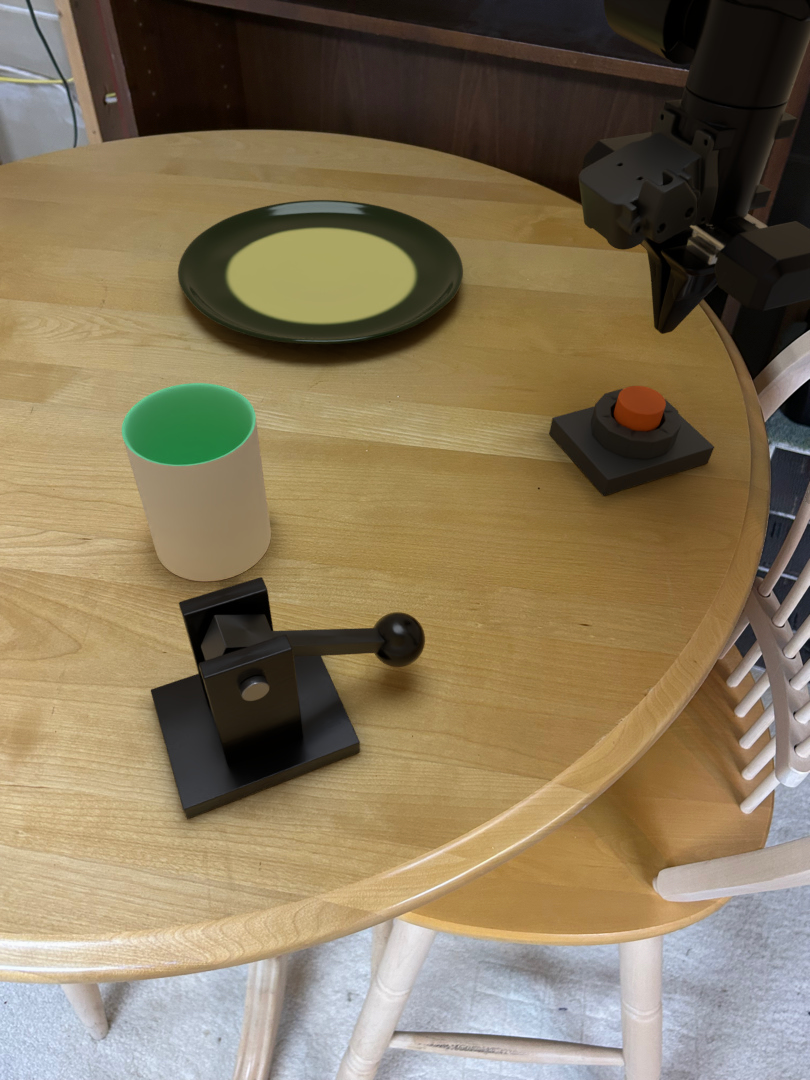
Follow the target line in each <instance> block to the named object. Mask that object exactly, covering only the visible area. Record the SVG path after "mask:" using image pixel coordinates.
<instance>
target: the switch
mask: <svg viewBox="0 0 810 1080" xmlns="http://www.w3.org/2000/svg"><path fill="white" fill-rule="evenodd" d="M178 606H179V610H180V613H181V616H182V620H183V624H184V628H185V631H186V636H187V638H188V642H189V645H190V648H191V653H192V657H193V659H194V660H193V661H194V663H195V666H196V670H197V673H196V674H193V675H190V676H187V677H184V678H181V679H178V680H175V681H172V682H169V683H166V684H163V685H160V686H158V687H157V686H156V687H155V688H151V689H150V694H151V697H152V700H153V701H152V702H153V705H154V708H155V712H156V716H157V718H158V719H157V720H158V723H159V727H160V731H161V734H162V738H163V741H164V746H165V748H166V752H167V756H168V760H169V763H170V767H171V771H172V774H173V778H174V782H175V786H176V789H177V793H178V797H179V800H180V804H181V808H182V811H183V813H184V815H185V818H186V820H189V819H191V818H194V817H197V816H199V815H202V814H204V813H207V812H209V811H212V810H214V809H218V808H220V807H222V806H225V805H228V804H230V803H232V802H235V801H237V800H240V799H242V798H245V797H248V796H250V795H254V794H256V793H259V792H261V791H263V790H267V789H269V788H271V787H274V786H276V785H279V784H281V783H284V782H287V781H289V780H292V779H293V778H297V777H299V776H303V775H304V774H307V773H310V772H312V771H315V770H318V769H320V768H322V767H325V766H328V765H331V764H333V763H336V762H338V761H341V760H344V759H347V758H348V757H351V756H354V755H356V754H359V753H361V742H360V739H359V737H358V735H357V733H356V730H355V728H354V725H353V723H352V720H351V719H350V717H349V714H348V713H347V712H348V711H346V707H345V706H344V704H343V701H342V699H341V697H340V695H339V692H338V691H337V688H336V686H335V683H334V681H333V680H332V677H331V675H330V672H329V670H328V668H327V666H326V663H325V662H324V660H323V656H307V657H294V656H293V648H292V646H291V644H290V641H289V639H288V636H287V635H286V634H285V635H282V636H279V637H276V638H273V639H270V640H267V641H264V642H261V643H258V644H255V645H252V646H249V647H246V648H243V649H240V650H236V651H233V652H230V653H227V654H224V655H221V656H218V657H215V658H212V659H209V660H205V657H204V654H203V651H202V648H201V645H202V642H203V640H204V638H205V635H206V633H207V631H208V628H209V626H210V624H211V621H212V619H213V617H214V615H241V614H264V615H265V617H266V619H267V621H268V624H269V626H270V629H271V631H275V630H274V624H273V618H272V612H271V604H270V597H269V591H268V588H267V586H266V583H265V580H264V577H262V576H260V577H257V578H253V579H250V580H247V581H243V582H240V583H236V584H233V585H230V586H227V587H224V588H220V589H217V590H214V591H210V592H208V593H204V594H201V595H197V596H194V597H190V598H188V599H185V600H181V601H179V602H178Z"/></svg>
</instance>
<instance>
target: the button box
mask: <svg viewBox="0 0 810 1080" xmlns="http://www.w3.org/2000/svg"><path fill="white" fill-rule="evenodd" d="M623 389H624V388H620V389H616V390H612V391H609V392H606V393H604V394H603V395H602V396H601V397H600V398H599V399H598V400H597V401H596V402H595V404H594V406H590V407H586V408H583V409H579V410H576V411H572V412H568V413H564V414H561V415H558V416H553V417H552V418H551V423H550V428H549V435H550V437H551V438H552V439H553V440H554V441H555V442H556V444H557V445H558V446H559V447H560V449H562V450H563V451H564V452H565V454H566V455H567V456H568V457H569V458H570V460H572V462H573V463H574V464H575V466H577V468H578V469H579V470H580V471H581V472H582V473H583V474H584V475H585V476H586V478H587V479H588V480H589V482H591V484H592V485H593V486H594V487H595V488H596V490H598V491H599V493H600V494H601V495H602V497H603V496H607V495H611V494H614V493H618V492H621V491H624V490H627V489H630V488H634V487H636V486H640V485H644V484H646V483H649V482H653V481H656V480H658V479H662V478H665V477H668V476H671V475H674V474H677V473H681V472H684V471H688V470H691V469H693V468H697V467H699V466H703V465H706V464H709V461H710V460H711V457H712V454H713V452H714V449H715V446H714V445H713V444H712V443H711V442H710V441H709V440H707V438H705V436H703V434H701V433H700V432H699V431H698V429H696V428H695V427H694V426H693V425H691V423H690V422H688V420H686V418H684V417H683V416H682V415H681V414H680V413H679V410H678V409H677V408H676V407H674V405H672V403H670V401H668V400H667V399H666V398H664V399H665V401H666V406H665V409H664V412H663V415H662V418H661V421H660V424H659V426H658V427H657V428H655V429H654V430H651V431H648V432H644V431H633V430H631V429H629V428H626V427H624V426H622V425H620V424H619V423H618V422H617V421H616V420H615V418H614V410H615V406H616V403H617V399H618V395H619V393H620V392H621V391H622V390H623Z"/></svg>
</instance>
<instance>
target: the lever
mask: <svg viewBox="0 0 810 1080" xmlns="http://www.w3.org/2000/svg"><path fill="white" fill-rule="evenodd" d="M285 634H286V635H287V636H288V639H289V641H290V644H291V646H292V648H293V656H294V657H307V656H321V657H324V656H325V657H327V656H345V655H363V654H374V656H375V657H376V658H377V660H379V662H381V663H382V664H384V665H386V666H389V667H392V668H404V667H407V666H410V665H411V664H413V663H415V662H416V661H417V660H418V659H419V657H421V655H422V653H423V651H424V649H425V645H426V635H425V630H424V629H423V626H422V625H421V623H420V622H419V620H418V619H416V617H414V616H413V615H411V614H410V613H406V612H401V611H393V612H390V613H386V614H385V615H383V616H381V617H380V618H379V619H378V620H377V621H376V623H375V624H374V625H373V627H362V628H360V627H357V628H326V629H291V630H274V631H271V629H270V626H269V624H268V621H267V619H266V617H265V615H264V614H241V615H214V617H213V619H212V621H211V624H210V626H209V628H208V631H207V633H206V635H205V638H204V640H203V642H202V645H201V648H202V651H203V654H204V657H205V660H209V659H212V658H215V657H218V656H221V655H224V654H227V653H230V652H233V651H236V650H240V649H243V648H246V647H249V646H252V645H255V644H258V643H261V642H264V641H267V640H270V639H273V638H276V637H279V636H282V635H285Z"/></svg>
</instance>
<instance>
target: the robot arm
mask: <svg viewBox="0 0 810 1080" xmlns="http://www.w3.org/2000/svg"><path fill="white" fill-rule="evenodd" d="M603 7H604V8H603V9H604V15H605V18H606V21H607V24H608V26H609V27H610V29H611V30H612V31H613V32H614V33H615V34H616V35H619V36H620V37H621V38H623V39H625V40H626V41H630V42H631V43H633V44H635V45H637V46H639V47H641V48H643V49H645V50H646V51H649V52H651V53H652V54H655V55H657V56H659V57H661V58H663V59H665V60H667V61H669V62H671V63H672V64H676V65H681V66H684V65H685V66H687V65H690V66H689V69H688V74H687V77H686V81H685V85H684V89H683V93H682V96H681V99H673V100H666V101H664V104H663V105H664V106H663V109H661V110H660V111H659V112H658V114H657V118H656V122H655V125H654V128H653V129H652V131H648V132H642V133H636V134H629V135H623V136H617V137H610V138H603V139H598V140H597V141H596V142H595V143H594V144H593V146H592V147H591V148H590V149H589V150H588V151H587V152H586V154H584V156H583V161H582V167H581V171H580V172H579V174H578V184H579V191H580V192H579V193H580V200H581V207H582V208H581V209H582V215H583V223H584V225H585V226H586V227H587V228H589V229H593V230H594V231H595V232H596V233H598V234H599V235H600V236H602V237H603V238H604V239H605V240H606V242H607V244H608V245H610V246H611V247H612V248H614V249H617V250H622V251H623V250H630V249H633V248H635V247H637V246H639V245H642V246H643V247H644V248H645V250H646V254H647V259H648V267H649V275H650V286H651V300H652V301H651V302H652V315H653V328H654V329H655V330H656V331H657V332H658V333H660V334H662V335H665V334H668V333H672V332H673V331H674V330H675V329H676V328H677V327H678V326H679V325H680V324H682V322H683V321H684V320H685V319H686V318H687V317H688V316H689V315H690V314H691V313H692V311H694V310H695V308H696V307H697V306H698V305H699V304H700V303H701V302H702V301H703V300H704V299H705V298H706V297H707V296H708V294H710V293H711V292H712V291H713V290H714V288H716V286H718V288H719V289H721V290H722V291H724V292H725V293H726V294H727V295H729V296H730V297H731V298H732V299H735V300H736V301H737V302H739V304H741V305H742V306H744V307H745V308H746V309H749V310H754V311H758V312H766V311H769V310H773V309H777V308H782V307H785V306H790V305H793V304H798V303H802V302H806V301H810V228H809V227H806V226H805V225H804V224H802V223H800V222H798V221H797V220H793V221H789V222H785V223H780V224H775V225H770V226H768V225H767V224H765V223H764V222H762V221H761V220H759V219H757V218H756V217H754V216H752V215H751V214H749V211H752V210H757V209H762V208H766V207H767V204H768V202H769V199H770V197H771V195H772V189H770V188H768V187H766V186H765V185H763V184H762V183H761V182H760V181H761V180H762V177H763V175H764V171H765V168H766V165H767V163H768V159H769V157H770V154H771V151H772V148H773V145H774V142H775V141H776V140H783V139H790V138H792V137H793V133H794V131H795V129H796V126H797V123H798V120H799V118H798V117H795V116H794V115H792V114H789V113H788V112H786V108H787V106H788V103H789V100H790V97H791V94H792V92H793V88H794V85H795V82H796V80H797V77H798V74H799V71H800V68H801V65H802V62H803V60H804V57H805V54H806V51H807V48H808V46H809V43H810V0H603Z"/></svg>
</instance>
